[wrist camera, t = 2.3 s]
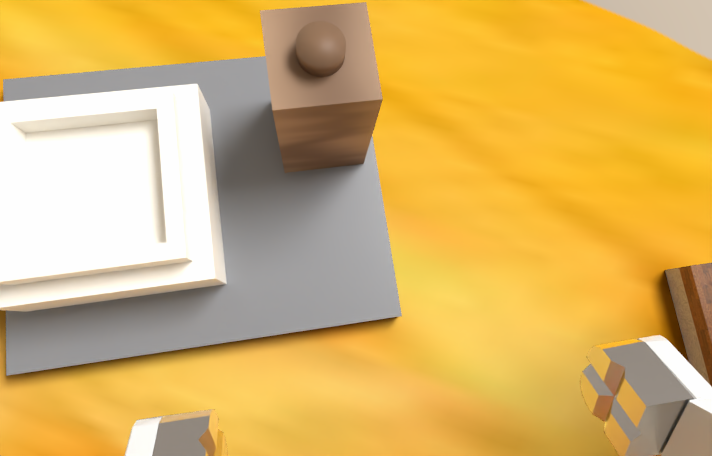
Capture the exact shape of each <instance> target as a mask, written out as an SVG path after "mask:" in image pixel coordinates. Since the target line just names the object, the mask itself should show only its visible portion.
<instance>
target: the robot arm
mask: <svg viewBox="0 0 712 456" xmlns="http://www.w3.org/2000/svg"><path fill="white" fill-rule="evenodd" d="M587 359H588V360H589V362H590V363H591V364H590V365H589V366H588V367H587V368H586V369H585V370H583V371H582V375H581V380H580V385H581V392H582V396H583V398H584V400H585V403H586V405H587V406H588V408H589V410H590V411H591V413H592V414H593V415H595V416H596V417H598V418H600V419H601V420H603V421H604V422H605V425H604V433H605V434H606V436H607V437H608V439H609V441H610V442H611V444H612V445H613V447H614V448H615V450H616V451H617V453H618V454H619V456H653V455H659V454H661V456H712V387H711V385H710V384H709V383H708V382H707V381H706V380H705V379H704V378H703V377H702V376H701V375H700V374H699V373H698V372H697V371H696V370H695V368H694V367H693V366H692V365H691V364H690V363H689V362H688V361H687V360H686V359H685V358H684V357H683V356H682V355H681V354H680V353H679V351H678V350H677V349H676V348H675V347H674V346H673V345H672V344H671V343H670V342H669V341H668V340H667V339H666V338H664V337H662V336H660V335H657V336H650V337H644V338H639V339H629V340H624V341H618V342H613V343H607V344H601V345H596V346H593V347H592V348H591V349H590V350H589V352H588V355H587ZM218 421H219V418H218V416H217V413H216V411H215V409H211V410H204V411H197V412H190V413H182V414H175V415H168V416H161V417H154V418H148V419H142V420H137V421H136V422H135V424H134V426H133V427H132V429H131V433H130V437H129V441H128V445H127V449H126V452H125V456H228V451H227V444H226V439H225V436H224V433H223V432H222V431H220V430H219V429H218Z"/></svg>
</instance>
